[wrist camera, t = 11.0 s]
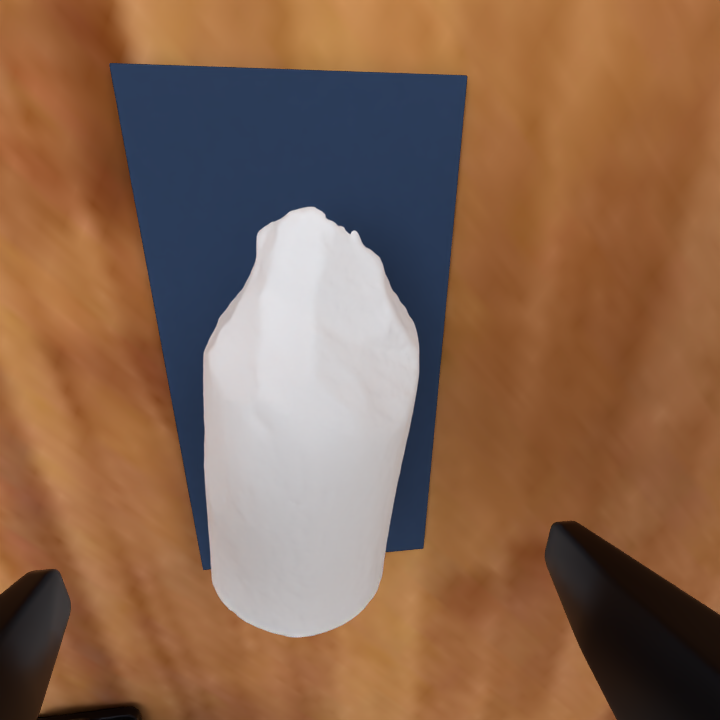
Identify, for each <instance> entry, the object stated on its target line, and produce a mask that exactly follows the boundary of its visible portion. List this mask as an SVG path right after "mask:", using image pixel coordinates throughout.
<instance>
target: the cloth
mask: <svg viewBox="0 0 720 720" xmlns="http://www.w3.org/2000/svg"><path fill="white" fill-rule="evenodd" d="M109 65H110V71H111V76H112V81H113V87H114V92H115V98H116V103H117V108H118V114H119V119H120V124H121V130H122V135H123V141H124V146H125V151H126V157H127V162H128V168H129V173H130V178H131V184H132V189H133V194H134V200H135V205H136V211H137V216H138V221H139V227H140V232H141V238H142V243H143V248H144V254H145V259H146V265H147V270H148V275H149V281H150V286H151V291H152V297H153V302H154V308H155V313H156V318H157V324H158V329H159V335H160V340H161V345H162V351H163V356H164V361H165V367H166V372H167V378H168V383H169V388H170V394H171V399H172V405H173V410H174V415H175V421H176V426H177V432H178V437H179V442H180V448H181V453H182V458H183V464H184V469H185V475H186V480H187V485H188V491H189V496H190V502H191V507H192V512H193V518H194V523H195V528H196V534H197V539H198V545H199V550H200V555H201V561H202V566H203V570H208V569H211V557H210V542H209V531H208V515H207V503H206V490H205V473H204V435H205V426H204V397H203V356H204V350H205V348H206V346H207V344H208V341H209V338H210V337H211V335H212V333H213V332H214V330H215V328H216V326H217V323H218V319H219V317H220V316H221V315H222V314H223V313H224V312H225V310H226V309H227V308H228V306H229V304H230V303H231V302H232V300H233V299H234V298H235V297H236V296H237V294H238V293H239V292H240V291H241V290H242V289H243V287H244V285H245V283H246V281H247V279H248V278H249V276H250V273H251V270H252V268H253V266H254V264H255V261H256V241H257V234H258V232H259V231H260V230H261V229H262V228H263V227H265V226H267V225H268V224H269V223H271V222H275V221H277V220H279V219H281V218H282V217H284V216H285V215H286V214H287V213H288V212H289V211H293V210H297V209H300V208H304V207H315V208H316V209H319V210H320V211H322V212H323V213H324V214H325V216H326V218H327V219H328V220H331V221H333V222H335V223H336V224H337V225H338V226H342V227H344V228H345V230H346V232H348V233H349V234H351V232H352V231H354V230H355V231H356V232H358V234H359V236H360V239H361V241H362V243H363V245H364V246H365V247H366V248H368V249H370V250H372V251H373V252H374V253H375V254H376V255H378V256H379V257H380V259H381V261H382V264H383V266H384V271H385V275H386V276H387V278H388V280H389V283H390V286H391V288H392V290H393V292H395V293H396V295H397V296H398V298H399V300H400V302H401V303H402V304H403V305H404V306H405V308H406V309H407V312H408V314H409V316H410V317H411V319H412V320H413V322H414V324H415V328H416V331H417V335H418V341H419V379H418V386H417V392H416V398H415V403H414V409H413V414H412V418H411V424H410V429H409V433H408V438H407V442H406V447H405V451H404V456H403V460H402V464H401V470H400V475H399V478H398V483H397V488H396V494H395V499H394V504H393V509H392V515H391V521H390V526H389V533H388V538H387V544H386V552H393V551H403V550H413V549H423V546H424V535H425V525H426V514H427V503H428V492H429V482H430V471H431V460H432V449H433V439H434V428H435V417H436V406H437V396H438V385H439V374H440V364H441V353H442V342H443V331H444V321H445V310H446V299H447V288H448V278H449V267H450V256H451V246H452V235H453V224H454V213H455V203H456V192H457V181H458V170H459V160H460V149H461V138H462V127H463V117H464V106H465V95H466V85H467V76H466V75H438V74H409V73H380V72H351V71H322V70H294V69H265V68H236V67H207V66H179V65H150V64H121V63H110V64H109Z"/></svg>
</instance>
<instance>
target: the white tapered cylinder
mask: <svg viewBox="0 0 720 720" xmlns="http://www.w3.org/2000/svg"><path fill="white" fill-rule="evenodd" d="M418 379H419V341H418V335H417V331H416V328H415V324H414V322H413V320H412V319H411V317H410V316H409V314H408V312H407V309H406V308H405V306H404V305H403V304H402V303H401V302H400V300H399V298H398V296H397V295H396V293H395V292H393V290H392V288H391V286H390V283H389V280H388V278H387V276H386V275H385V271H384V266H383V264H382V261H381V259H380V257H379V256H378V255H376V254H375V253H374V252H373V251H372V250H370V249H368V248H366V247H365V246H364V245H363V243H362V241H361V239H360V236H359V234H358V232H356V231H355V230H354V231H352V232H351V234H349V233H348V232H346V230H345V228H344V227H342V226H338V225H337V224H336V223H335V222H333V221H331V220H328V219H327V218H326V216H325V214H324V213H323V212H322V211H320V210H319V209H316V208H315V207H304V208H300V209H297V210H293V211H289V212H288V213H287V214H286V215H285V216H284V217H282V218H281V219H279V220H277V221H275V222H271V223H269V224H268V225H267V226H265V227H263V228H262V229H261V230H260V231H259V232H258V234H257V241H256V261H255V264H254V266H253V268H252V270H251V273H250V276H249V278H248V279H247V281H246V283H245V285H244V287H243V289H242V290H241V291H240V292H239V293H238V294H237V296H236V297H235V298H234V299H233V300H232V302H231V303H230V304H229V306H228V308H227V309H226V310H225V312H224V313H223V314H222V315H221V316H220V317H219V319H218V323H217V326H216V328H215V330H214V332H213V333H212V335H211V337H210V338H209V341H208V344H207V346H206V348H205V350H204V356H203V397H204V426H205V435H204V473H205V490H206V503H207V515H208V531H209V542H210V557H211V574H212V583H213V586H214V588H215V590H216V592H217V594H218V596H219V598H220V599H221V600H222V602H223V603H224V604H225V605H226V606H227V607H228V609H229V610H231V611H233V612H234V613H236V615H237V616H238V617H240V618H241V619H243V620H244V621H245V622H247V623H249V624H251V625H253V626H255V627H258V628H261V629H264V630H266V631H269V632H272V633H275V634H279V635H284V636H288V637H305V636H314V635H317V634H321V633H324V632H327V631H329V630H332V629H335V628H337V627H339V626H341V625H343V624H345V623H346V622H348V621H350V620H351V619H353V618H354V617H355V616H357V615H358V614H359V613H360V612H361V611H362V610H363V609H364V608H365V607H366V606H367V604H368V603H369V601H370V600H372V599H373V597H374V595H375V593H376V592H377V590H378V587H379V583H380V580H381V578H382V573H383V565H384V558H385V552H386V544H387V538H388V533H389V526H390V521H391V515H392V509H393V504H394V499H395V494H396V488H397V483H398V478H399V475H400V470H401V464H402V460H403V456H404V451H405V447H406V442H407V438H408V433H409V429H410V424H411V418H412V414H413V409H414V403H415V398H416V392H417V386H418Z"/></svg>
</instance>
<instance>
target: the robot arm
mask: <svg viewBox="0 0 720 720" xmlns="http://www.w3.org/2000/svg"><path fill="white" fill-rule="evenodd" d="M545 561H546V565H547V568H548V570H549V573H550V575H551V578H552V580H553V583H554V585H555V588H556V590H557V593H558V595H559V598H560V600H561V603H562V605H563V608H564V610H565V613H566V615H567V618H568V620H569V623H570V625H571V628H572V630H573V633H574V635H575V637H576V639H577V642H578V644H579V646H580V648H581V650H582V653H583V655H584V657H585V659H586V661H587V663H588V665H589V667H590V668H591V670H592V672H593V674H594V676H595V678H596V680H597V682H598V684H599V686H600V688H601V690H602V692H603V694H604V696H605V698H606V700H607V702H608V704H609V706H610V707H611V709H612V711H613V713H614V715H615V717H616V719H617V720H720V615H719V614H718V613H716V612H715V611H713V610H712V609H710V608H709V607H707V606H705V605H704V604H702V603H701V602H699V601H698V600H696V599H695V598H693V597H692V596H690V595H688V594H687V593H685V592H684V591H682V590H681V589H679V588H678V587H676V586H675V585H673V584H672V583H670V582H668V581H667V580H665V579H664V578H662V577H661V576H659V575H658V574H656V573H655V572H653V571H652V570H650V569H648V568H647V567H645V566H644V565H642V564H641V563H639V562H638V561H636V560H635V559H633V558H632V557H630V556H628V555H627V554H625V553H624V552H622V551H621V550H619V549H618V548H616V547H615V546H613V545H611V544H610V543H608V542H607V541H605V540H604V539H602V538H601V537H599V536H598V535H596V534H595V533H593V532H591V531H590V530H588V529H587V528H585V527H584V526H582V525H581V524H579V523H577V522H575V521H562V522H555V523H554V524H553V525H552V526H551V529H550V533H549V537H548V542H547V546H546V550H545ZM70 610H71V602H70V598H69V595H68V593H67V590H66V587H65V585H64V582H63V579H62V577H61V574H60V572H59V571H58V570H56V569H46V570H35V571H31V572H29V573H27V574H25V575H24V576H23V577H21V578H20V579H19V580H18V581H16V582H15V583H14V584H13V585H11V586H10V587H9V588H8V589H7V590H5V591H4V592H3V593H2V594H0V720H142V718H141V714H140V711H139V710H138V709H137V708H135V707H122V708H114V709H106V710H99V711H91V712H83V713H76V714H68V715H60V716H53V717H45V718H38V715H39V712H40V709H41V706H42V703H43V700H44V697H45V694H46V691H47V687H48V684H49V681H50V678H51V674H52V671H53V668H54V665H55V661H56V658H57V655H58V652H59V648H60V645H61V642H62V639H63V635H64V632H65V629H66V626H67V622H68V619H69V616H70Z"/></svg>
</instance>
